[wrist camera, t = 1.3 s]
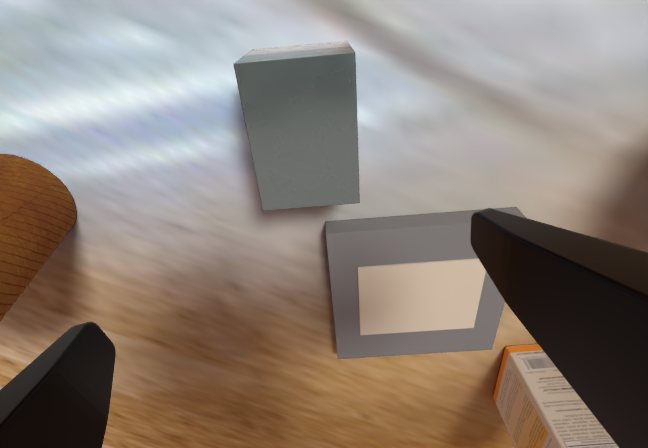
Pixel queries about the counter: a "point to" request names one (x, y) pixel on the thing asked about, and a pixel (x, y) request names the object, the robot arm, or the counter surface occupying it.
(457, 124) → the counter surface
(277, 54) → the block
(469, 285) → the stand
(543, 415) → the supplement box
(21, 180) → the disposable coffee cup
